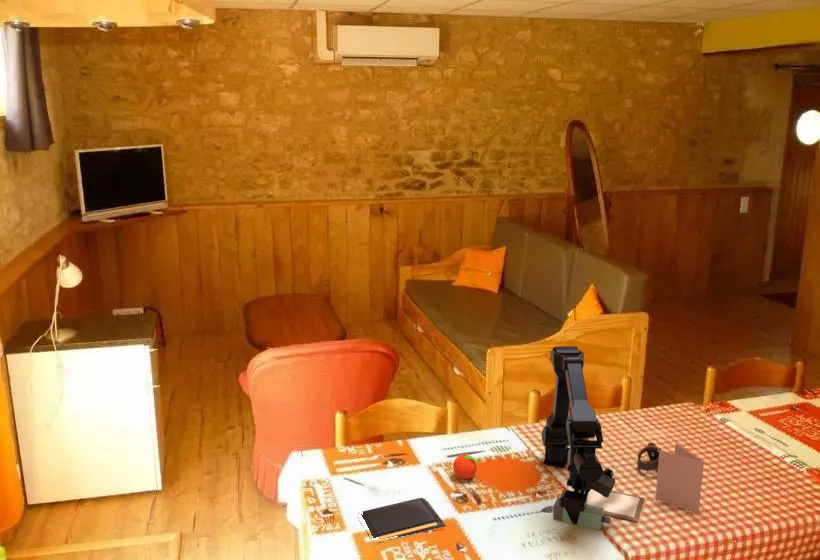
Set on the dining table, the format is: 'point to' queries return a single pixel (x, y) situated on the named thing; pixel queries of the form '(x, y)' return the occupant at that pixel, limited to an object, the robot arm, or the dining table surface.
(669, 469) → the greeting card
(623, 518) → the clipboard
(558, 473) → the dining table surface
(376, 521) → the black notebook
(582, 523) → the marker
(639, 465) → the pottery mug
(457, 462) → the clementine
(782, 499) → the dining table surface
